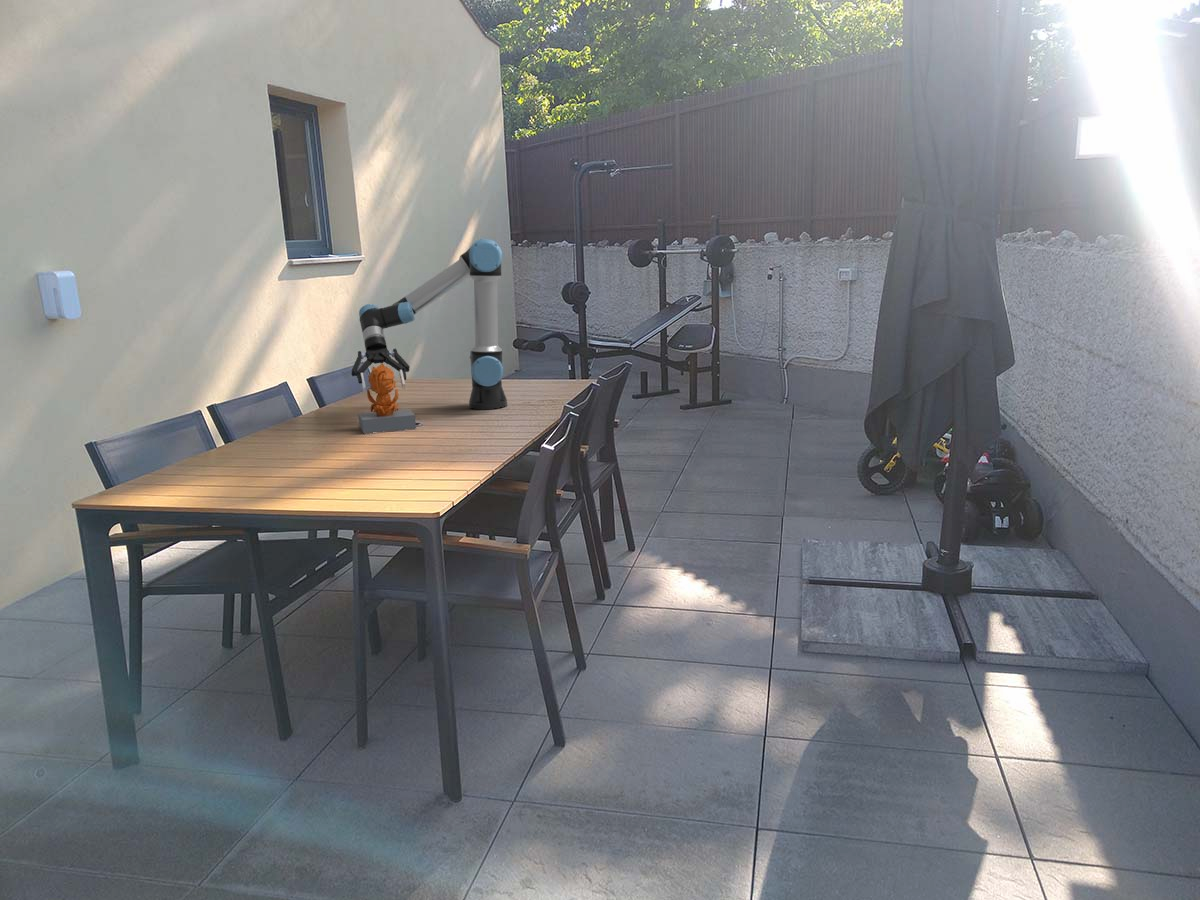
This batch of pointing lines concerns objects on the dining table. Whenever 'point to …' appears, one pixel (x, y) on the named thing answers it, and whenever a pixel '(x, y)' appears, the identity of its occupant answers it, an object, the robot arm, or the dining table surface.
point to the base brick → (387, 421)
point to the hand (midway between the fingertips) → (384, 388)
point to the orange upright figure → (382, 391)
